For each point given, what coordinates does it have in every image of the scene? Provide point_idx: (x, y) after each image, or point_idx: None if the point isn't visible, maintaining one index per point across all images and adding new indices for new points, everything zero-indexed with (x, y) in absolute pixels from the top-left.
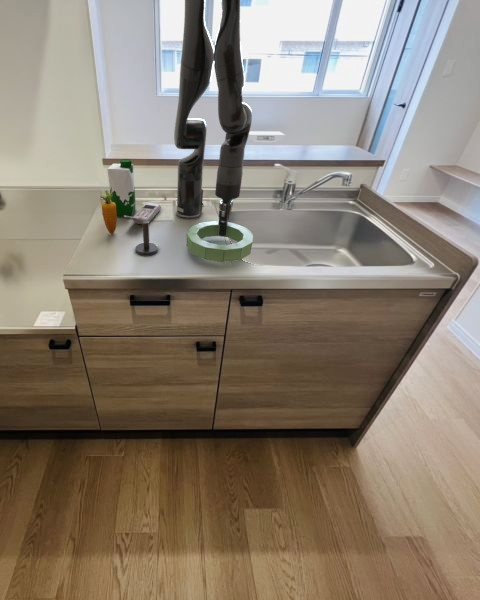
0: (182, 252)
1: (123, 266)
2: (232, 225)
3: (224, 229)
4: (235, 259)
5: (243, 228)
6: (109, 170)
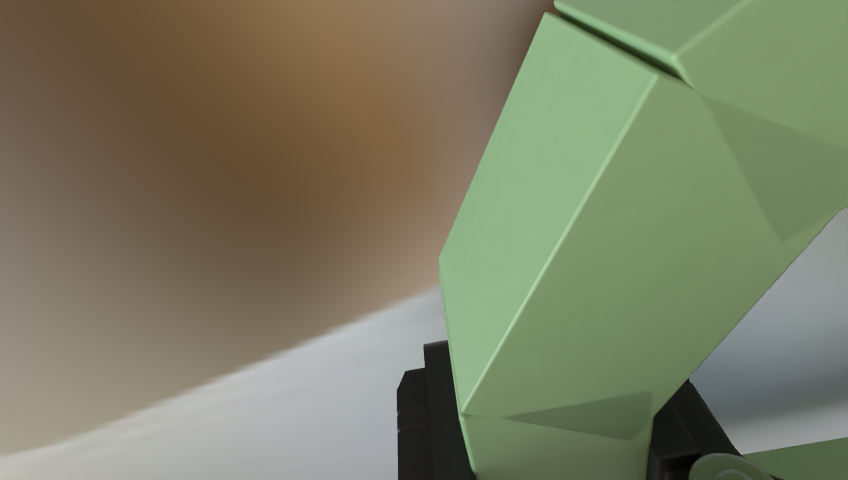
0: (822, 436)
1: None
2: (602, 381)
3: (706, 408)
4: None
5: (743, 120)
6: None
